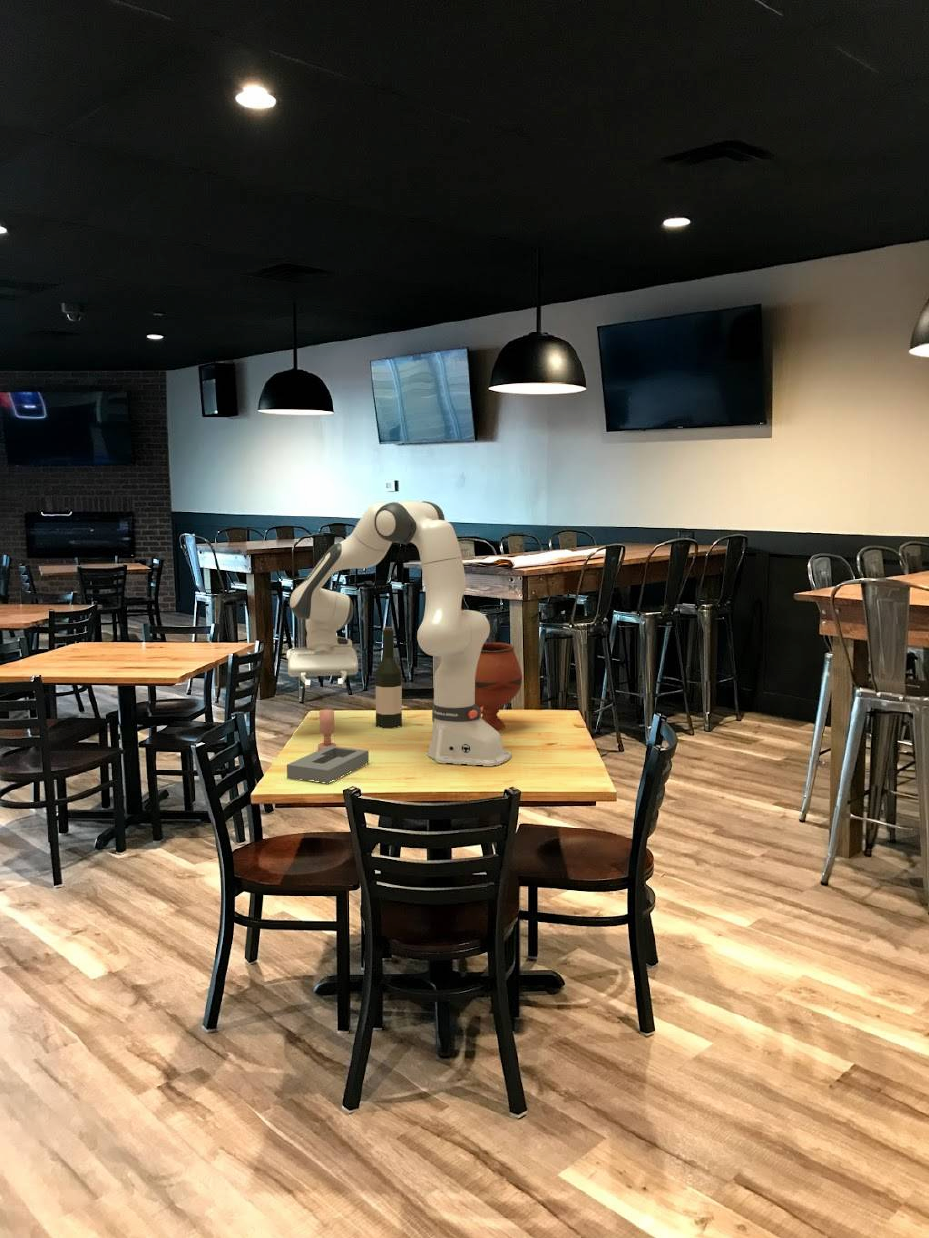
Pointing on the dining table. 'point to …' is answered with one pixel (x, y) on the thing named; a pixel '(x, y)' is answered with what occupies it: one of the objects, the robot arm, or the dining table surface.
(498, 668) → the goblet
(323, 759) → the keyhole plate
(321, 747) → the peg
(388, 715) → the wine bottle
